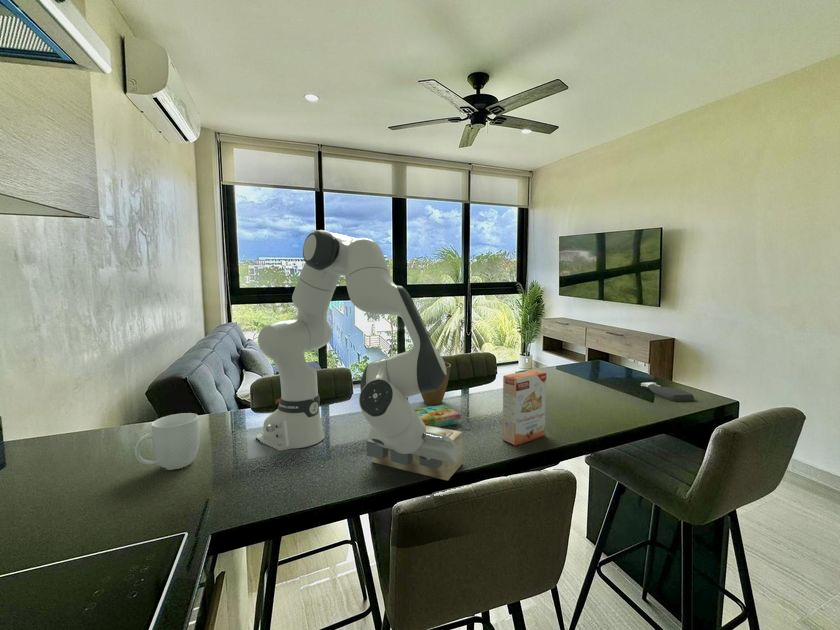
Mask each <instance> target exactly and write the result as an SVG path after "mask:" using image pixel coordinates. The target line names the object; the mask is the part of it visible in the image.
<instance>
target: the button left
mask: <svg viewBox="0 0 840 630" xmlns="http://www.w3.org/2000/svg"><path fill="white" fill-rule="evenodd" d="M366 456H368V457H371V458H372V457H375V458H379V459H384V458H385V457H386V456H388V449H387V448H383V447H381V446H379V445H377V444H376V443H375V442H373V441H371V440H370V439H369V438H368V440H366Z"/></svg>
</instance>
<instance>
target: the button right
mask: <svg viewBox="0 0 840 630" xmlns="http://www.w3.org/2000/svg"><path fill="white" fill-rule="evenodd" d="M419 464H420V465H423V466H427V467H431V468H436V469H438V468H439V467H440V466H441V465H442V461H441V460H437V459H432V458H430V460H426V459H422V458H419Z"/></svg>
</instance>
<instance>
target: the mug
mask: <svg viewBox="0 0 840 630" xmlns="http://www.w3.org/2000/svg"><path fill="white" fill-rule="evenodd" d="M199 420H200V419H199V415H198V414H197V413H192V412H187V413H185V412H184V413H183V412H181V413H176V414H169V415H166V416H162V417H160V418H157V419H155V420H154V421H152V423H151V425H150V426H151V432H150V433H146V434H144V435H142V436H141V437H140V438H139V439H138V441H137V442H136V443H135V444H136V445H135V448H134V455H135V457H136V459H137V461H138V462H139V463H141V464H144V465H149V466H150V465H160V466H161V467H162V468H163V467H165V468H175V467H181V466H184V465H187V464H189V463H190V462H192V461H193V460H195V458H196V456H197V454H198V451H199V447H200V433H201V432H200V423H199ZM146 439H147V440H148V439H151V440H152V445H153V451H154V452H153V453H154V454H155V458H156V459H154V460H148V459H145V458H143V456H142V455H141V453H140V447H141V444H142V443H143V442H144V441H145V440H146ZM193 462H194V461H193ZM193 462H192V463H193Z"/></svg>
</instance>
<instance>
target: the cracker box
mask: <svg viewBox="0 0 840 630" xmlns="http://www.w3.org/2000/svg"><path fill="white" fill-rule="evenodd" d="M502 386H503V387H502V388H503V389H502V439H501V440H502V441H505V442H507V443H509V444H511V445H513V446H515V447H517V446H519V445H522V444H525V443H527V442H530V441H533V440H535V439H536V440H537V439H539V438H542V437H544V436H545V434H546V404H547V403H546V401H547V373H546V372H544V371H540V370H535V369H531V370H525V371H519V372H514V373H509V374H504V375H503V377H502Z"/></svg>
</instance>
